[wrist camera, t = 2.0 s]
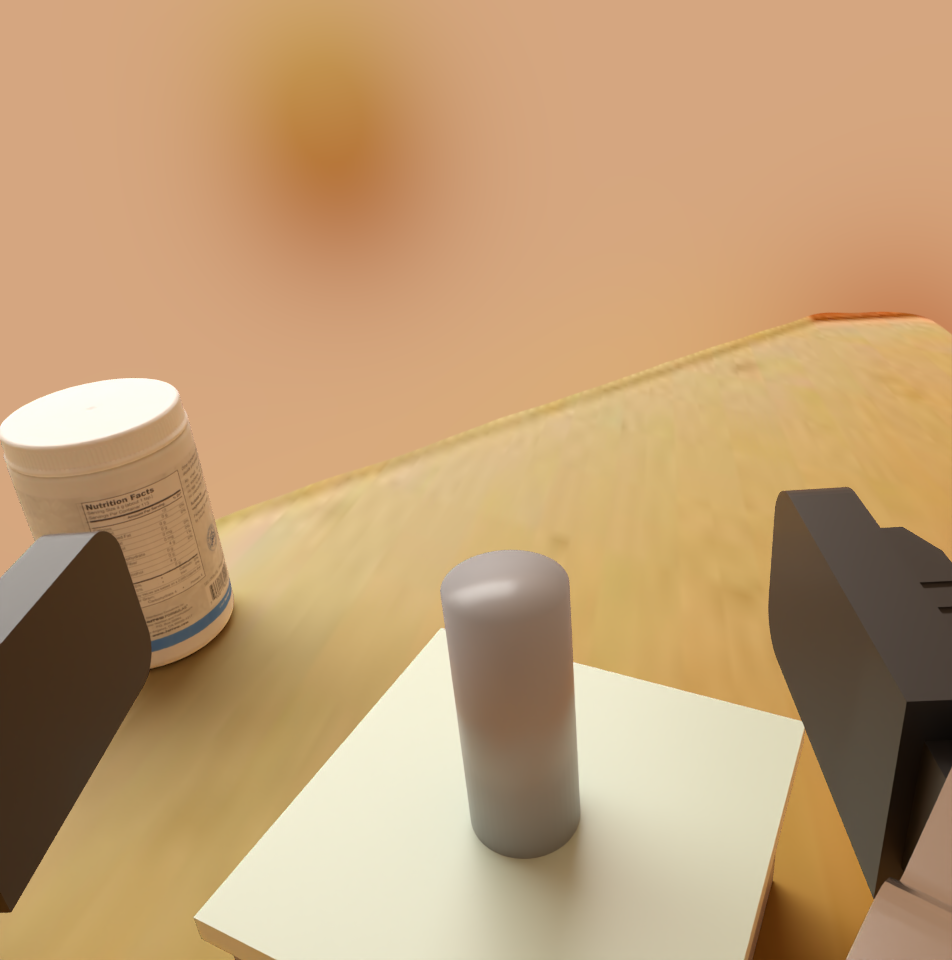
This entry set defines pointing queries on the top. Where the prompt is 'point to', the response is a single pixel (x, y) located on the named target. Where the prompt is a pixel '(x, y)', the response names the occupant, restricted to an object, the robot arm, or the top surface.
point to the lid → (520, 806)
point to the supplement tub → (128, 498)
